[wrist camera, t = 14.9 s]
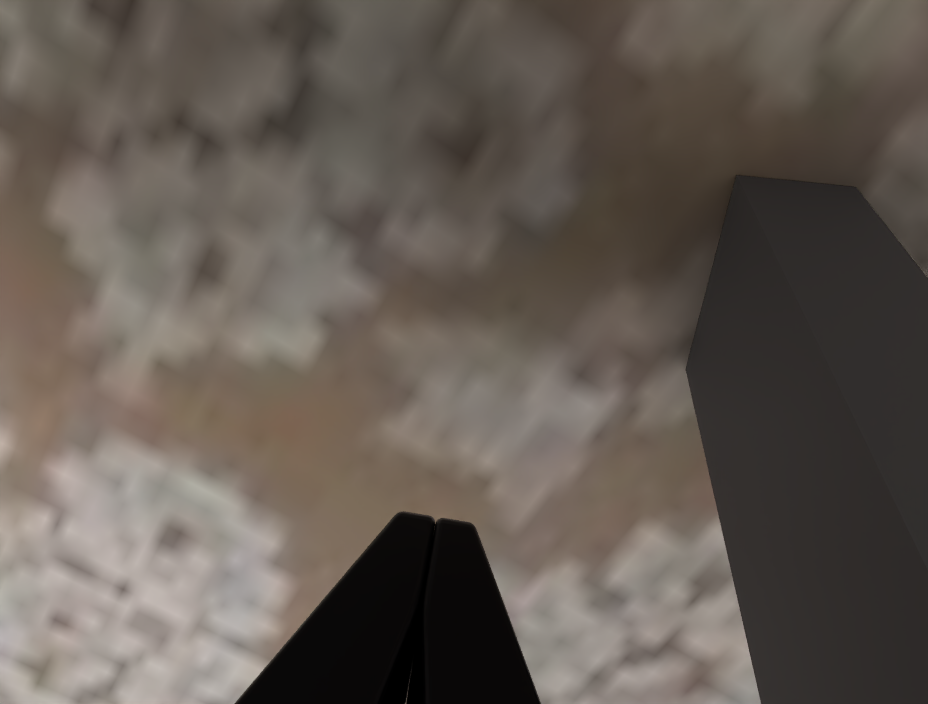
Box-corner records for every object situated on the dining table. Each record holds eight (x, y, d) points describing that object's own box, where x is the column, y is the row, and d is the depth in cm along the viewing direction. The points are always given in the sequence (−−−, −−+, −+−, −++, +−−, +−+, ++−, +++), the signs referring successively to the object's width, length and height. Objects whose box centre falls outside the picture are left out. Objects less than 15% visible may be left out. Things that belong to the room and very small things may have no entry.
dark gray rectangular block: (855, 187, 14) (1287, 736, 6) (788, 380, 16) (1030, 981, 8) (736, 175, 14) (989, 699, 6) (685, 369, 16) (817, 952, 8)
